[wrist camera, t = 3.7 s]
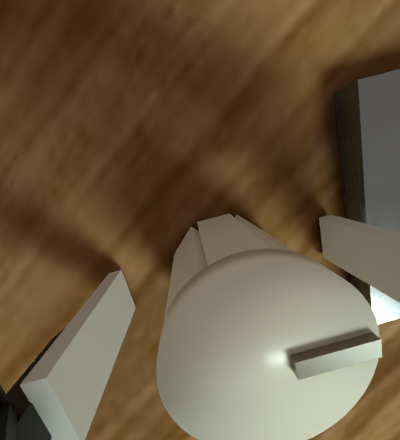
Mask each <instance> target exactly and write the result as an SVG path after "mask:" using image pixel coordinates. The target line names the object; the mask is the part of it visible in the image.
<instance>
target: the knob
mask: <svg viewBox="0 0 400 440" xmlns="http://www.w3.org/2000/svg"><path fill="white" fill-rule="evenodd" d="M197 225H198V229H199V231H198V230H196V229H194V228H193V227H190V229H189V230H188V232H187V234H186V235H185V237H184V239H183V240H182V242H181V244H180V245H179V247H178V249H177V250H176V252H175V254H174V259H173V266H172V273H171V279H170V286H169V293H168V299H167V306H166V313H165V319H164V322H163V326H162V331H161V337H160V343H159V350H158V356H157V362H156V380H157V388H158V391H159V395H160V398H161V400H162V403H163V405H164V407H165V409H166V410H167V412H168V413H169V415H170V416H171V418H172V419H173V420H174V421H175V422H176V423H177V424H178V425H179V426H180V427H181V428H182V429H183V430H184V431H186V432H187V433H188V434H190V435H191V436H193V437H194V438H196V439H198V440H308V439H310V438H312V437H314V436H316V435H318V434H320V433H321V432H323V431H325V430H326V429H328V428H329V427H331V426H332V425H334V424H335V423H336V422H338V421H339V420H340V419H341V418H342V417H344V416H345V415H346V414H347V413H348V412H349V411H350V410H351V409H352V408H353V407H354V405H355V404H356V403H357V402H358V400H359V399H360V398H361V397H362V395H363V394H364V392H365V390H366V389H367V387H368V386H369V383H370V381H371V379H372V377H373V375H374V372H375V369H376V366H377V363H378V358H380V357H382V343H381V339H380V336H379V328H378V324H377V321H376V317H375V315H374V313H373V311H372V309H371V307H370V305H369V303H368V302H367V300H366V299H365V298H364V296H363V295H362V294H361V293H360V292H359V291H358V290H357V289H356V288H355V287H354V286H353V285H352V284H350V283H349V282H347V281H346V280H345V279H343V278H342V277H340V276H339V275H337V274H336V273H334V272H333V271H331V270H329V269H328V268H326V267H325V266H323V265H322V264H320V263H319V262H317V261H315V260H313V259H311V258H309V257H307V256H305V255H302V254H299V253H296V252H294V251H293V250H291V249H290V248H288V247H287V246H285V245H284V244H283V243H281V242H280V241H278V240H277V239H275V238H274V237H272V236H271V235H269V234H268V233H267V232H265V231H264V230H262V229H260V228H259V227H257V226H255V225H254V224H252V223H250V222H249V221H247V220H245V219H244V218H242V217H240V216H238V215H236V216H235V218H234V217H233V216H232V215H231V214H225V215H222V216H218V217H214V218H210V219H206V220H203V221H199V222H197Z"/></svg>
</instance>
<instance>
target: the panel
mask: <svg viewBox="0 0 400 440" xmlns="http://www.w3.org/2000/svg"><path fill="white" fill-rule="evenodd" d="M334 94H335V106H336V118H337V130H338V141H339V153H340V165H341V177H342V189H343V201H344V213H345V218H346V219H350V220H354V221H357V222H361V223H365V224H369V225H373V226H377V227H380V228H384V229H388V230H392V231H396V232H400V69H398V70H394V71H390V72H386V73H383V74H379V75H375V76H371V77H367V78H363V79H359V80H357V81H355V82H353V83H351V84H350V85H348V86H346V87H344V88H343V89H341V90H339V91H337V92H335V93H334ZM350 284H352V285H353V286H354V287H355V288H356V289H357V290H358V291H359V292H360V293H361V294H362V295H363V296H364V298H365V299H366V300H367V302H368V303H369V305H370V307H371V309H372V311H373V313H374V315H375V317H376V321H377V324H381V323H385V322H388V321H392V320H396V319H399V318H400V303H399V302H398V301H396V300H394V299H392V298H391V297H389V296H387V295H386V294H384V293H382V292H381V291H379V290H377V289H376V288H374V287H372V286H370V285H369V284H367V283H365V282H364V281H362V280H360V279H359V278H357V277H355V276H354V275H352V274H350Z"/></svg>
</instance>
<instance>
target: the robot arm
mask: <svg viewBox="0 0 400 440" xmlns="http://www.w3.org/2000/svg"><path fill="white" fill-rule="evenodd" d="M319 223H320V232H321V241H322V249H323V258H325V259H326V260H328V261H330V262H332V263H333V264H335V265H337V266H338V267H340V268H342V269H343V270H345V271H347V272H348V273H350V274H352V275H354V276H355V277H357V278H359V279H360V280H362V281H364V282H365V283H367V284H369V285H370V286H372V287H374V288H376V289H377V290H379V291H381V292H382V293H384V294H386V295H387V296H389V297H391V298H392V299H394V300H396V301H398V302H399V303H400V232H396V231H392V230H388V229H384V228H380V227H377V226H373V225H369V224H365V223H361V222H357V221H354V220H350V219H346V218H342V217H338V216H334V215H327V216H323V217H319ZM135 308H136V307H135V305H134V302H133V299H132V297H131V294H130V291H129V289H128V286H127V283H126V281H125V278H124V275H123V273H122V270H119V271H115V272H111V273H109V274H108V275H107V276H106V278H105V279H104V280H103V281H102V283H101V284H100V285H99V286H98V288H97V289H96V290H95V291H94V293H93V294H92V295H91V296H90V298H89V299H88V300H87V301H86V303H85V304H84V305H83V306H82V308H81V309H80V310H79V311H78V313H77V314H76V315H75V316H74V318H73V319H72V320H71V321H70V323H69V324H68V325H67V326H66V328H65V329H63V330H62V331H61V332H60V333H58V334H57V335H56V336H55V337H54V338H53V339H52V340H51V341H50V342H49V343H48V344H47V346H46V347H45V348H44V349H43V352H41V353H40V354H39V355H38V357H37V358H36V359H35V362H33V363H32V364H31V365H30V366H29V367H28V369H27V370H26V371H25V372H24V373H23V375H22V376H21V377H20V378H19V380H18V381H17V382H16V383H15V384H14V386H13V387H12V388H11V389H10V390H9V392H8V393H7V394H5V392H4V390H3V389H2V387H1V386H0V440H51V439H52V440H85V438H86V436H87V433H88V431H89V428H90V425H91V423H92V420H93V418H94V415H95V412H96V410H97V407H98V405H99V402H100V399H101V397H102V394H103V392H104V389H105V386H106V384H107V381H108V379H109V376H110V373H111V371H112V368H113V366H114V363H115V360H116V358H117V355H118V353H119V350H120V347H121V345H122V342H123V340H124V337H125V334H126V332H127V329H128V327H129V324H130V321H131V319H132V316H133V314H134V311H135Z"/></svg>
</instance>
